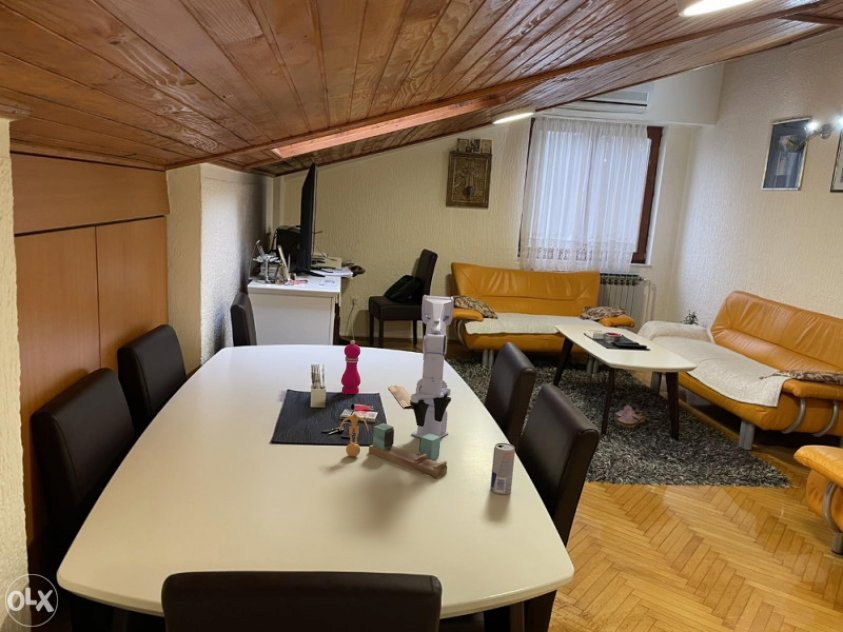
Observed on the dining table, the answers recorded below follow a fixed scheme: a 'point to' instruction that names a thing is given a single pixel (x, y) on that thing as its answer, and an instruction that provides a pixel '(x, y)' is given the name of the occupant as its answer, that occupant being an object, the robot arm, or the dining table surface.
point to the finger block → (430, 446)
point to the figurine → (354, 448)
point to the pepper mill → (351, 369)
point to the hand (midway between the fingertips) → (429, 423)
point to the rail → (403, 453)
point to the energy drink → (502, 468)
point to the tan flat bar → (401, 395)
